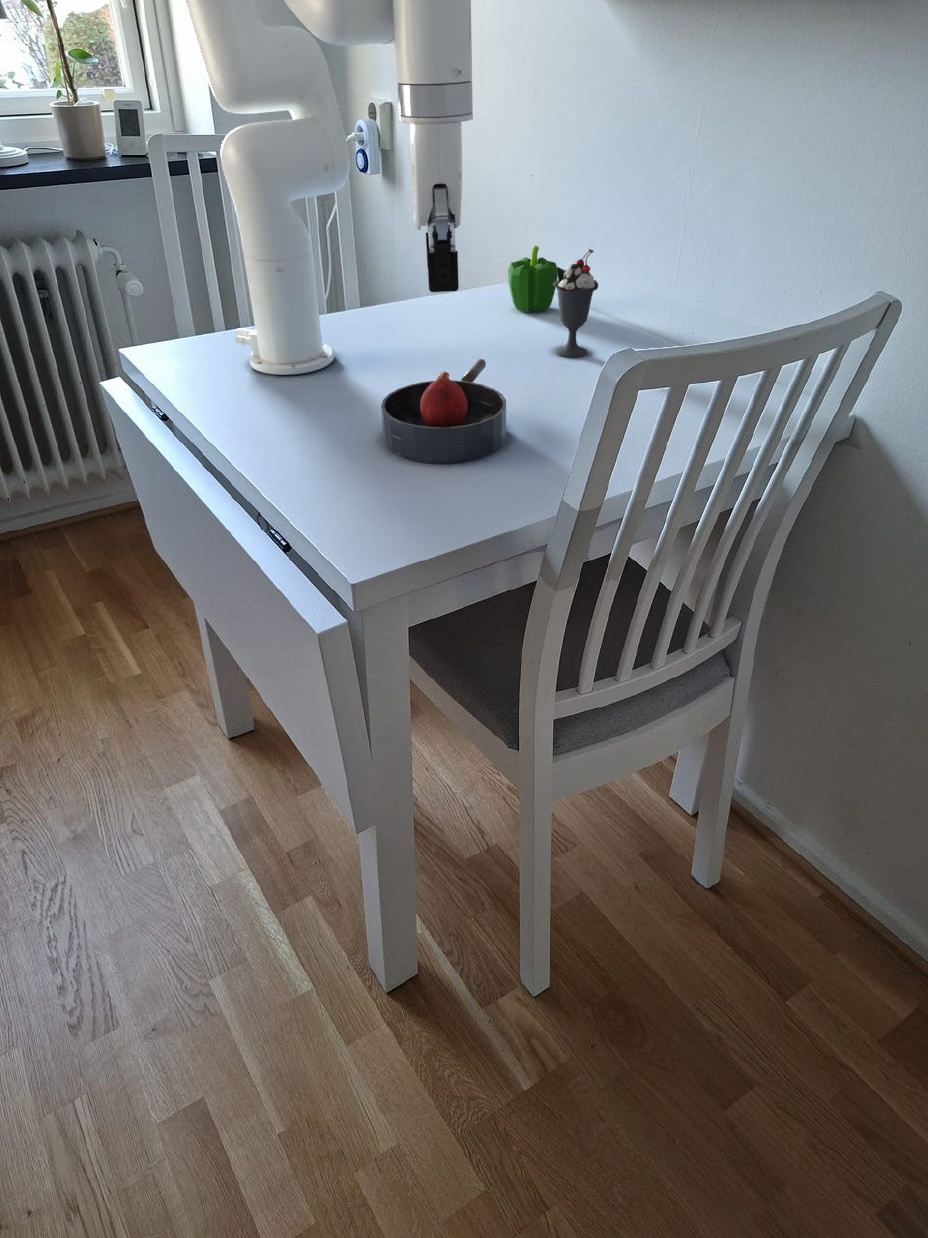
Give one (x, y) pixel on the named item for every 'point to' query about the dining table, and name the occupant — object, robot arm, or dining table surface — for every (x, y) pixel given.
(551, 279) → the bell pepper
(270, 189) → the robot arm
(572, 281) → the sundae
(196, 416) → the dining table surface
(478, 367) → the pan handle
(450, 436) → the pan
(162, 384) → the dining table surface
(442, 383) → the onion
